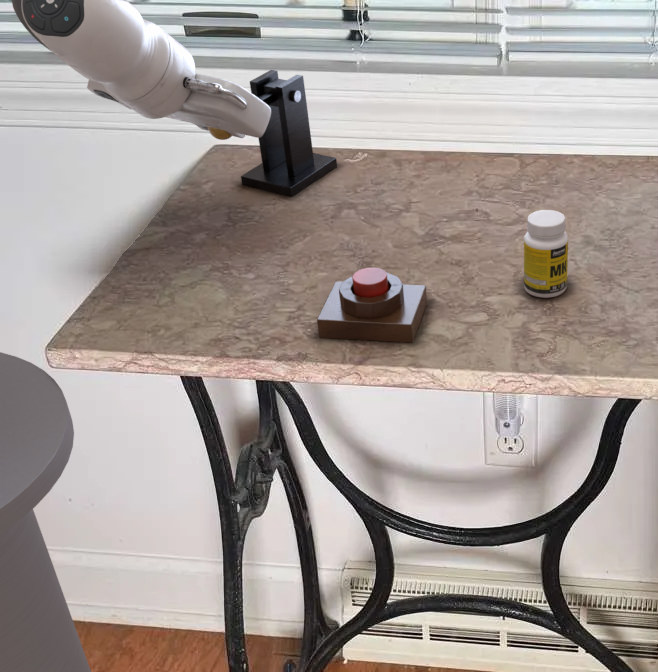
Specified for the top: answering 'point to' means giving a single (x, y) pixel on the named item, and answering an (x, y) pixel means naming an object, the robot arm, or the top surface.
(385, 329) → the button block
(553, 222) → the supplement bottle
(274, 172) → the bracket
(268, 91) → the lever
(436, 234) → the top surface
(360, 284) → the button
